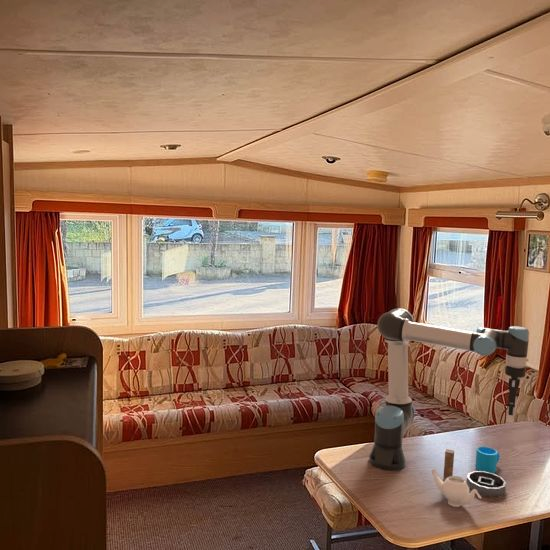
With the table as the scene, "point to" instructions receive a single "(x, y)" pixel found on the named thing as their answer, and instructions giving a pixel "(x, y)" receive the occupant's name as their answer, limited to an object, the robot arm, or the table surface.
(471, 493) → the teapot
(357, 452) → the table surface
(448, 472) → the square wooden stick
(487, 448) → the mug
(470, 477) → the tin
